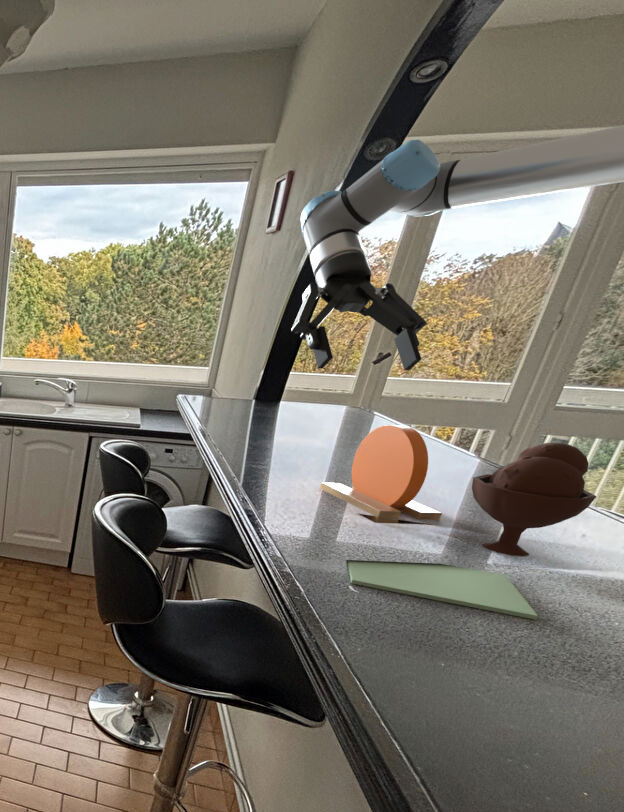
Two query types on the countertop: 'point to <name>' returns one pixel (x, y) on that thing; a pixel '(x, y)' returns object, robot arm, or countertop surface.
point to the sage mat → (443, 584)
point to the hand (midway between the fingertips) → (368, 364)
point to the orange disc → (390, 465)
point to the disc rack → (380, 506)
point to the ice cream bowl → (533, 492)
